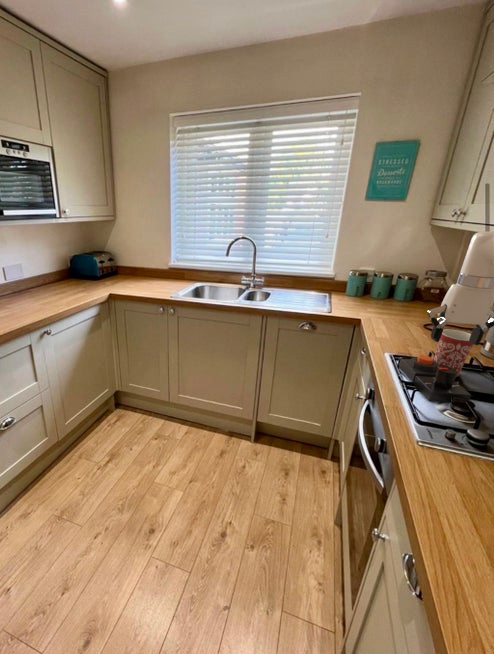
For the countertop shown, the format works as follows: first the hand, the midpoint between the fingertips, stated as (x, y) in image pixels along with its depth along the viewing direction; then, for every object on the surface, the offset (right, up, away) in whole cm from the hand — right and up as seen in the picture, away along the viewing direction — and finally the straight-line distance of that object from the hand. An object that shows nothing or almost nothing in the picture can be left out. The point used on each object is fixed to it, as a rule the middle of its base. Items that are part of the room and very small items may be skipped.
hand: (453, 341), depth 92 cm
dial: (-1, -13, +3) cm, 13 cm away
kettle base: (+1, -11, +14) cm, 18 cm away
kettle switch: (+1, -7, +12) cm, 14 cm away
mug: (+11, -10, +18) cm, 23 cm away
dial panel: (-1, -15, +4) cm, 16 cm away
